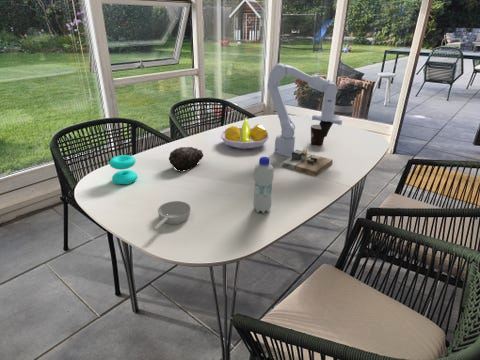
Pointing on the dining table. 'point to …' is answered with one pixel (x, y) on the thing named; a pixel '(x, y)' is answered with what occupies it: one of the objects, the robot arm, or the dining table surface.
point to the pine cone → (185, 158)
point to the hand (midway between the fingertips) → (324, 136)
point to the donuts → (124, 175)
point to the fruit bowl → (245, 136)
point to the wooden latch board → (308, 164)
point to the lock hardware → (297, 154)
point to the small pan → (173, 213)
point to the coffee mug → (316, 135)
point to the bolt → (304, 155)
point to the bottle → (263, 185)
